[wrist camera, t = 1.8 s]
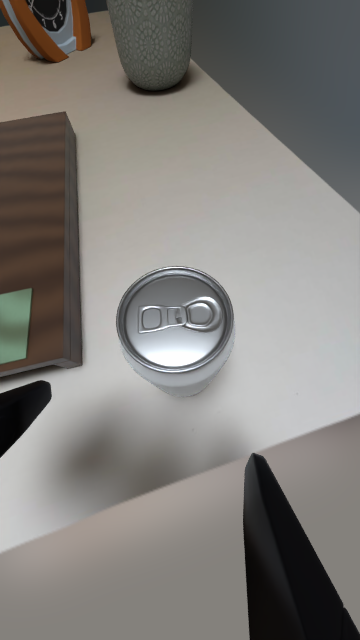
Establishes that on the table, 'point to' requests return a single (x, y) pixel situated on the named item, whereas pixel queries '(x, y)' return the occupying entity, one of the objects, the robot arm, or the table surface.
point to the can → (176, 329)
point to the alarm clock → (49, 26)
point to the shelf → (39, 245)
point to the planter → (153, 40)
